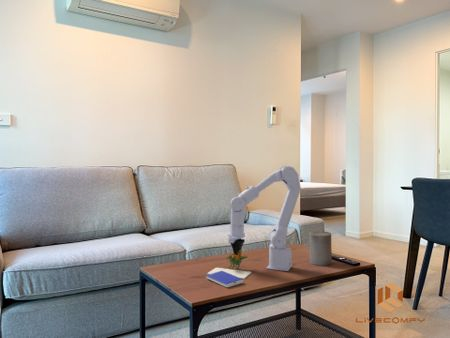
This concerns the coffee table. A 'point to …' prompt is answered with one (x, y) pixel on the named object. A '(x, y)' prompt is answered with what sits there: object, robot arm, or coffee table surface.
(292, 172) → the robot arm
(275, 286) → the coffee table surface
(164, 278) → the coffee table surface
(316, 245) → the pillar candle
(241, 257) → the figurine
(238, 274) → the cream mat
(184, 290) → the coffee table surface
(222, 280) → the hard drive
